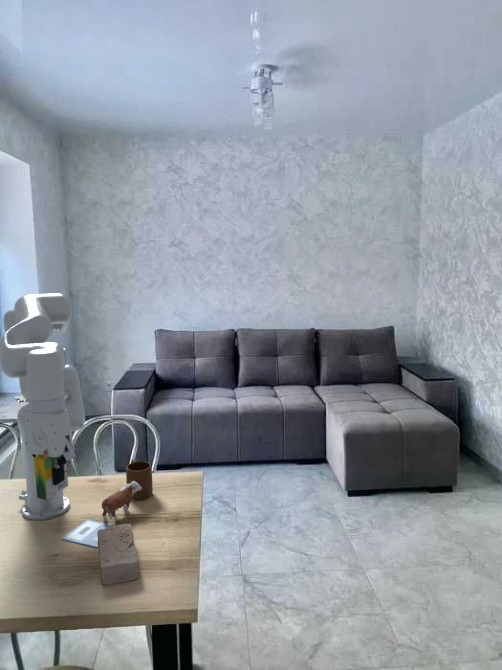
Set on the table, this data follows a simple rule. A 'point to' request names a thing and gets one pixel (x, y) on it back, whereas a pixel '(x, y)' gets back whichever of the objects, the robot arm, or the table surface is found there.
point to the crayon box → (47, 477)
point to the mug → (140, 478)
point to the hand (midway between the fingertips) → (52, 480)
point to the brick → (117, 554)
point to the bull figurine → (119, 500)
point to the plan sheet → (86, 533)
